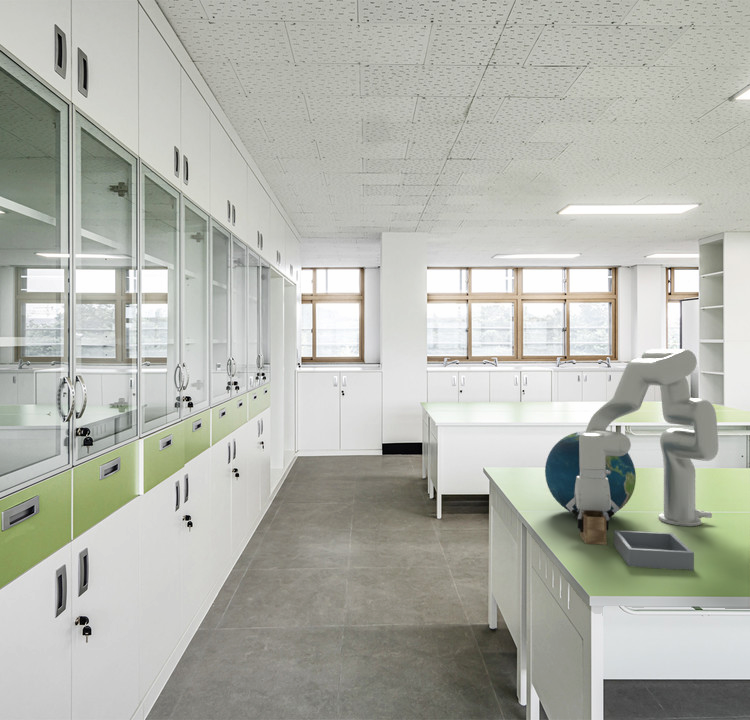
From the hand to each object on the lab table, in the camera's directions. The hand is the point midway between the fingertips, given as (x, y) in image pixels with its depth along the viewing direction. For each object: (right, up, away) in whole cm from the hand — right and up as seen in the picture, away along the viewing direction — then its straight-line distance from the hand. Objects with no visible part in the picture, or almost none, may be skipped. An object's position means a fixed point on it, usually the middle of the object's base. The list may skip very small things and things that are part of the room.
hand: (592, 531), depth 166 cm
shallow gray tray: (+10, -3, -15) cm, 19 cm away
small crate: (0, -2, 0) cm, 2 cm away
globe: (+8, -3, +24) cm, 25 cm away
